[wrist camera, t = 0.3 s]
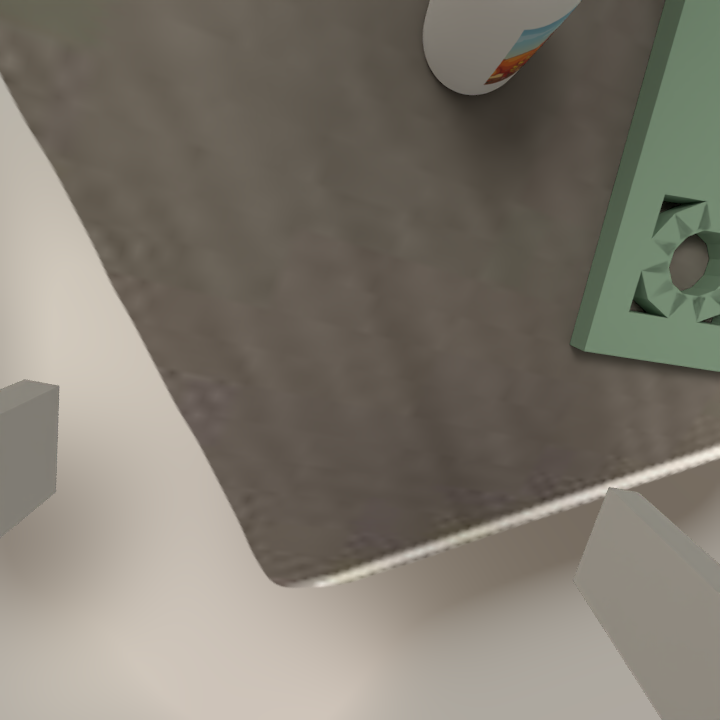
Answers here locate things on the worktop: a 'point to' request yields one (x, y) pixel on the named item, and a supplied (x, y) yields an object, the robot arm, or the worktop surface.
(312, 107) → the worktop surface
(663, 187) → the plate
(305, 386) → the worktop surface
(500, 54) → the milk bottle
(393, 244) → the worktop surface
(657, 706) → the robot arm
